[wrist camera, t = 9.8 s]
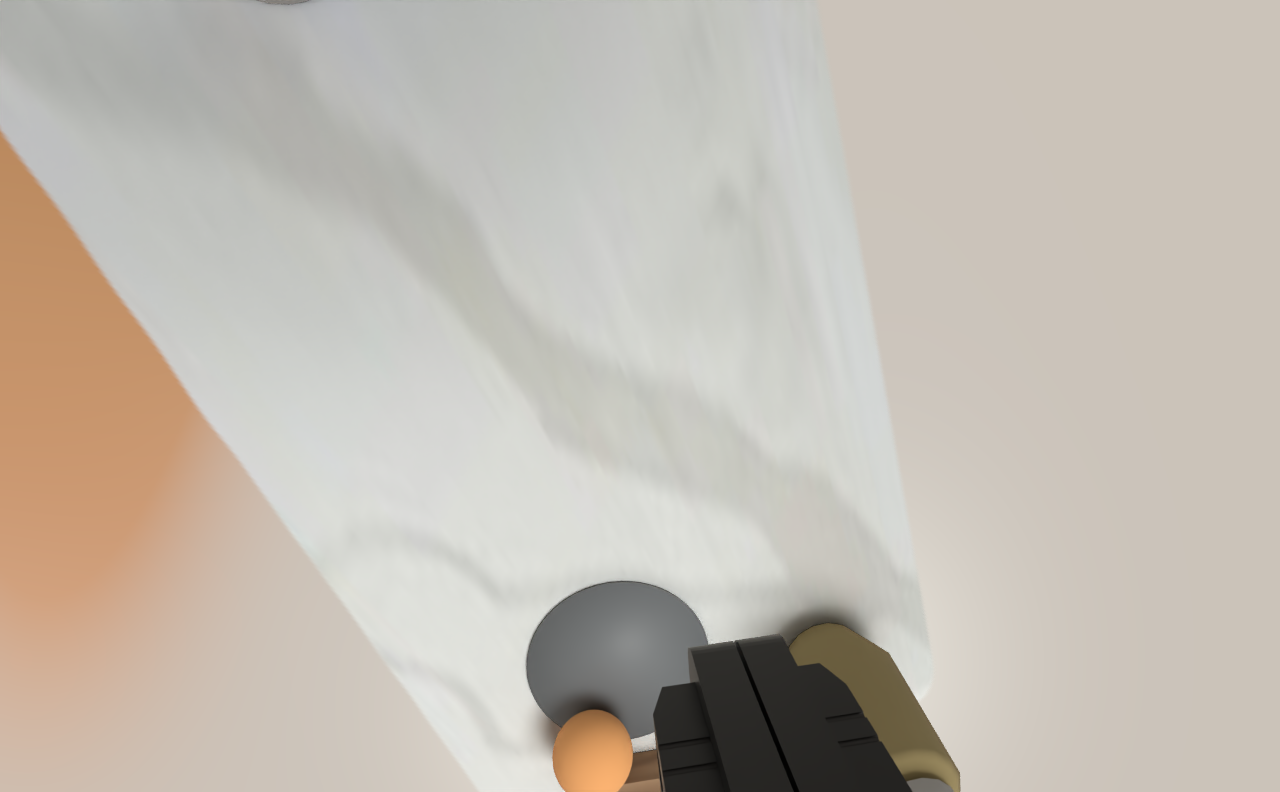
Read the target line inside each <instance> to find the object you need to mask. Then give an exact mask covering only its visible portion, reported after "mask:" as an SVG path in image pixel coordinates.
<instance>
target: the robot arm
mask: <svg viewBox="0 0 1280 792" xmlns="http://www.w3.org/2000/svg"><path fill="white" fill-rule="evenodd" d="M258 1H261V2H265V3H269V4H288V5H289V4H294V3H300V2H305V1H309V0H258ZM688 663H689V676H690V683H686V684H679V685H673V686H666V687H662V689H661V692H660V695H659V698H658V701H657V704H656V707H655V710H654V713H653V721H654V730H655V740H656V750H657V760H658V769H659V779H660V789H661V792H912V790H911V788H910V787H909V785H908V783H907V782H906V780H905V779H904V777H903V775H902V774H901V772H900V770H899V769H898V767H897V766H896V764H895V762H894V761H893V759H892V757H891V756H890V754H889V752H888V751H887V749H886V748H885V746H884V744H883V743H882V741H879V739H878V735H877V733H876V731H875V730H874V728H873V726H872V725H871V723H870V722H869V720H868V718H867V717H865V716H864V713H863V710H862V709H861V707H860V705H859V704H858V702H857V700H856V699H855V697H854V696H853V694H852V692H851V691H850V689H849V687H848V686H847V684H846V683H844V682H843V681H842V680H841V679H839V678H838V677H837V676H836V675H834V674H833V673H832V672H830V671H829V670H828V669H827V668H825V667H824V666H823V665H822V664H820V663H815V664H809V665H802V666H798V665H797V664H796V662H795V660H794V658H793V656H792V654H791V652H790V650H789V648H788V646H787V645H786V643H785V641H784V639H783V637H782V636H781V635H780V634H776V635H769V636H762V637H756V638H749V639H742V640H735V642H733V641H730V642H723V643H716V644H710V645H703V646H696V647H689V648H688Z"/></svg>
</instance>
